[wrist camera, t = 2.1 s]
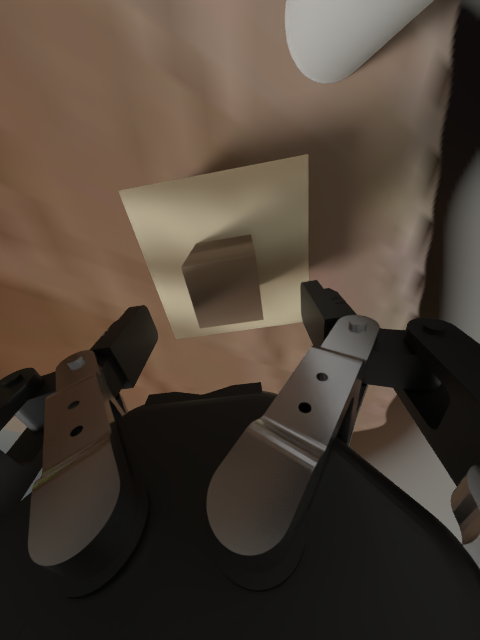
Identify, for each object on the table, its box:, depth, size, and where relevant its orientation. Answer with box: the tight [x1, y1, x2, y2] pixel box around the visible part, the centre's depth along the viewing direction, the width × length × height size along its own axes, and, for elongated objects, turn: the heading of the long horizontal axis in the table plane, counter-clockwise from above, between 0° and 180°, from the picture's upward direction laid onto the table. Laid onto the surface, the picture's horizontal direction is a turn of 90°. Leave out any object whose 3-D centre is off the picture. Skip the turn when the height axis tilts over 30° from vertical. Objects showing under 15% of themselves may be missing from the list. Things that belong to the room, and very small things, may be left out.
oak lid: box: [119, 154, 308, 339], centre depth 16 cm, size 12×12×6 cm
